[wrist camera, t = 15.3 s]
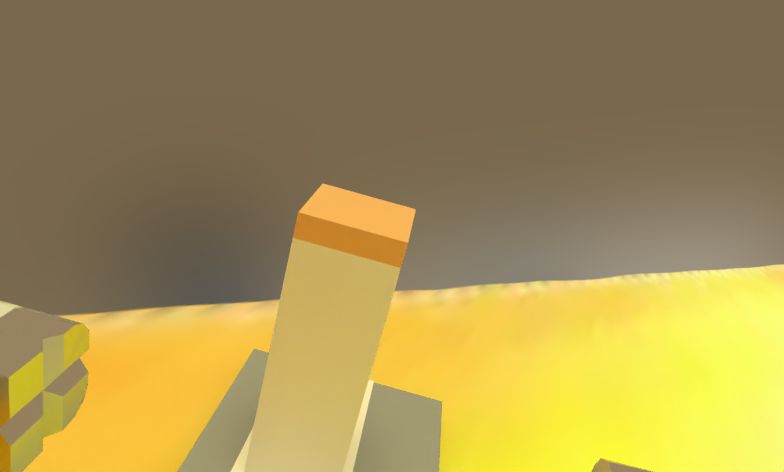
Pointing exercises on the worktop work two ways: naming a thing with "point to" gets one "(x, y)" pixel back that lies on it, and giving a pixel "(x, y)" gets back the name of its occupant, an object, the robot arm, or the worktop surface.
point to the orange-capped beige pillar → (327, 330)
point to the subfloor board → (369, 442)
